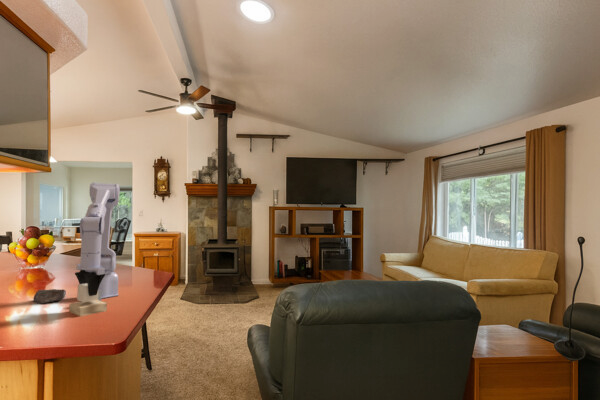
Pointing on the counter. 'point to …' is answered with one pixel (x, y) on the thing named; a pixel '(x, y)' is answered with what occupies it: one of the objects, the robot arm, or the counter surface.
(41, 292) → the rock
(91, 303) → the maple slab
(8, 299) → the counter surface
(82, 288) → the ivory cube
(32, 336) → the counter surface
